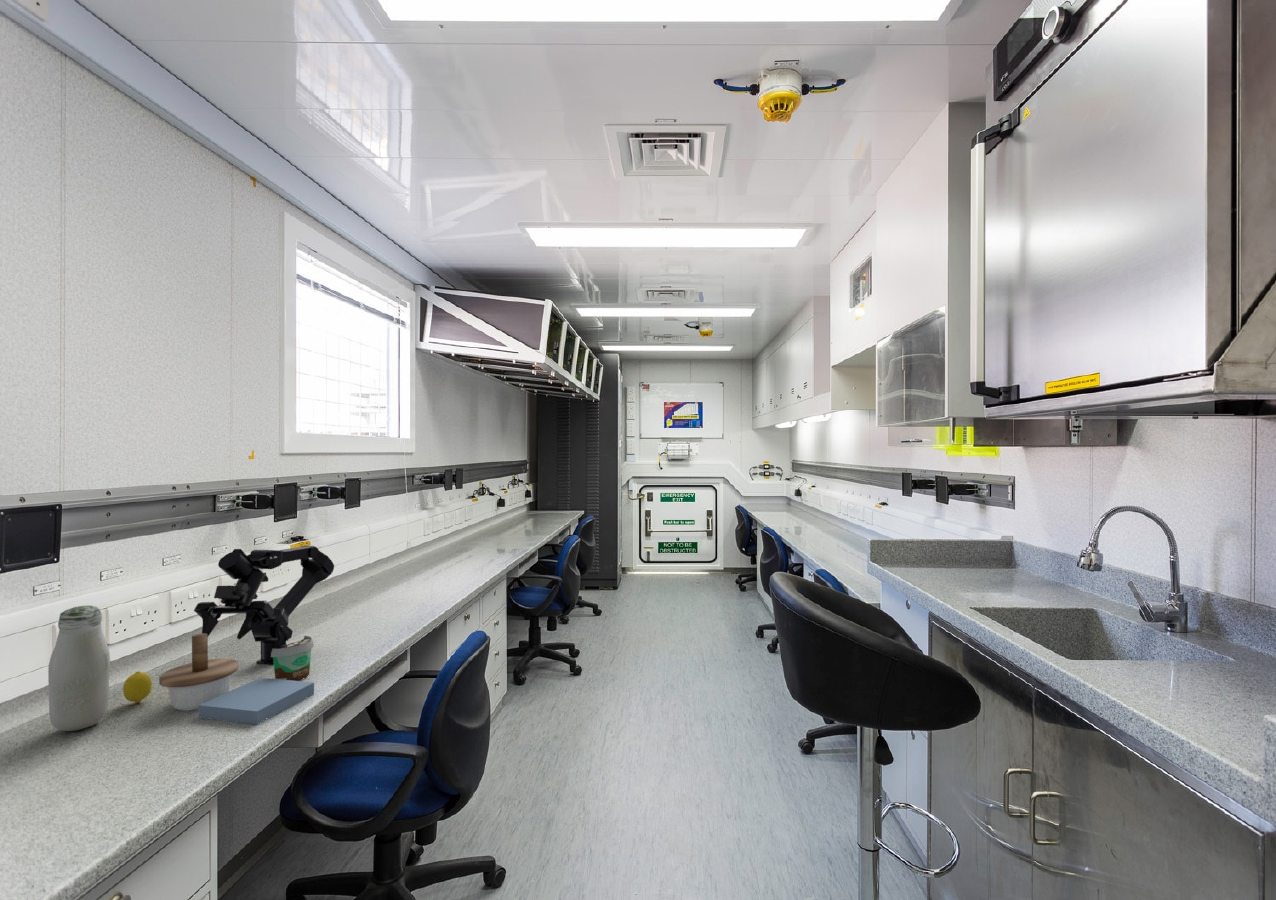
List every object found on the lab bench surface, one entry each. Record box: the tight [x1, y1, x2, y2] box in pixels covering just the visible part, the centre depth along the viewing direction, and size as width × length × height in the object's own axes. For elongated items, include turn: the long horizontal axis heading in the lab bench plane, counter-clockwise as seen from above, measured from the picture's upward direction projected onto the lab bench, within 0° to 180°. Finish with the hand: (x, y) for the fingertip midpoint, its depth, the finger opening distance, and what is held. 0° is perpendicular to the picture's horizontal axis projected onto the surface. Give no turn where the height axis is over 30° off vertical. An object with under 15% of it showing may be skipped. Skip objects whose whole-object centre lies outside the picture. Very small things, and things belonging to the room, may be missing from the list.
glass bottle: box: [47, 605, 111, 732], centre depth 132 cm, size 10×10×28 cm
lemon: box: [122, 670, 153, 704], centre depth 145 cm, size 6×6×8 cm
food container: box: [271, 635, 315, 681], centre depth 160 cm, size 12×6×10 cm, turn 168°
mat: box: [198, 677, 315, 725], centre depth 143 cm, size 17×17×3 cm
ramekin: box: [166, 674, 233, 711], centre depth 146 cm, size 13×13×7 cm
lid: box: [158, 632, 239, 688], centre depth 146 cm, size 16×16×10 cm
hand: (220, 639), depth 153 cm, fingers open, 9 cm apart
